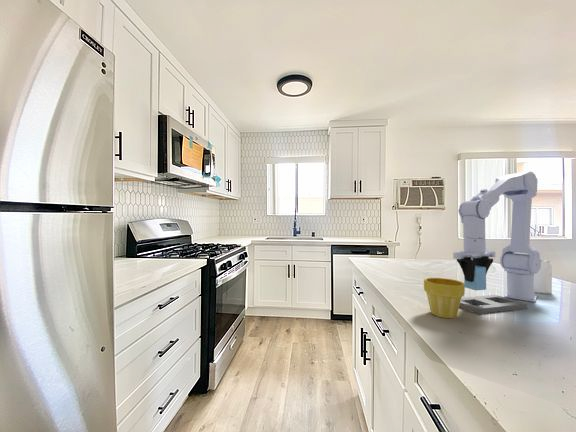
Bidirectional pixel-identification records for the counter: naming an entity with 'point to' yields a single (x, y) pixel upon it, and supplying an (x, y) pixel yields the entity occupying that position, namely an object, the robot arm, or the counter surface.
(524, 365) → the counter surface
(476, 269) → the plug
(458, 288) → the plant pot
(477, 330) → the counter surface
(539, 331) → the counter surface
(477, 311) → the holder plate
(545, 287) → the can
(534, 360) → the counter surface
